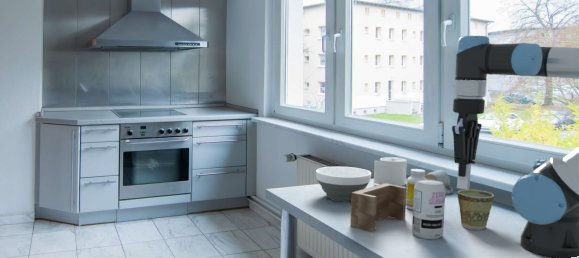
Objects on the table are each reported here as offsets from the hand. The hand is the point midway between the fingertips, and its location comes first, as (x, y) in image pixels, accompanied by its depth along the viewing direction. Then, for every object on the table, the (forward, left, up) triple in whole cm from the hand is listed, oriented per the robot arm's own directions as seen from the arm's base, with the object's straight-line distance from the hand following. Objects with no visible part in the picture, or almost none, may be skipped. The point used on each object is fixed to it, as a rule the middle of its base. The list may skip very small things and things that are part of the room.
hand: (463, 188), depth 129 cm
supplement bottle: (+25, -23, -15) cm, 37 cm away
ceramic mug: (+31, -52, -15) cm, 62 cm away
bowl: (+50, -16, -15) cm, 55 cm away
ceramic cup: (+3, -19, -15) cm, 24 cm away
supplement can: (+9, 0, -15) cm, 18 cm away
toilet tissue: (+51, -49, -15) cm, 72 cm away
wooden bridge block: (+25, 0, -15) cm, 29 cm away
